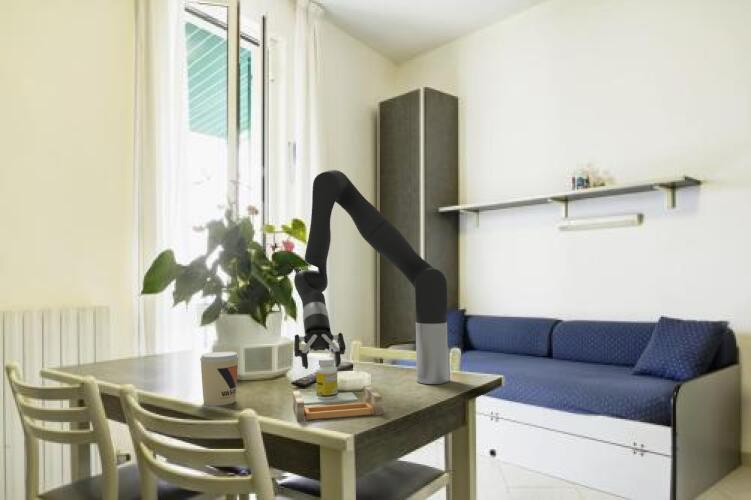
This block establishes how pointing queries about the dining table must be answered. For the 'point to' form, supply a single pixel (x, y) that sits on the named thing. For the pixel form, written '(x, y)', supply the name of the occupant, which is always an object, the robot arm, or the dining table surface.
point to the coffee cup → (219, 377)
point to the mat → (340, 398)
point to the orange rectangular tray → (338, 411)
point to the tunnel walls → (369, 397)
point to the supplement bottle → (327, 379)
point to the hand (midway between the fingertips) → (322, 366)
